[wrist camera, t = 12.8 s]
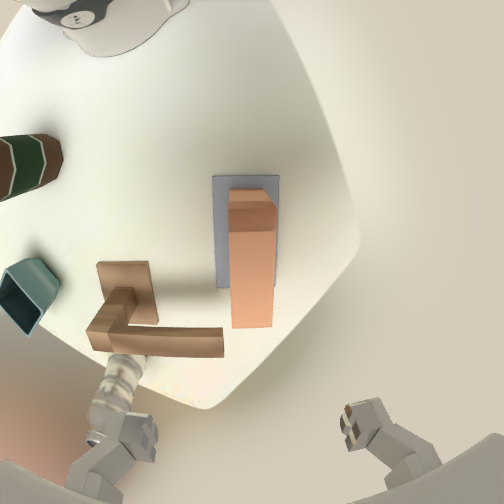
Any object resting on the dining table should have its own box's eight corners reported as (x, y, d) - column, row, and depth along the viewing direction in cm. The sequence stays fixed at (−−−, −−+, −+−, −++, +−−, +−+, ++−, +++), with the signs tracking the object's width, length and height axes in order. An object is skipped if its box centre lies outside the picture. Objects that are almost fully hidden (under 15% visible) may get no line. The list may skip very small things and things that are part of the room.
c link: (229, 188, 32) (228, 208, 22) (262, 188, 32) (277, 208, 22) (231, 278, 37) (232, 328, 26) (261, 277, 37) (271, 327, 27)
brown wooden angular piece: (98, 262, 35) (60, 303, 24) (223, 260, 36) (220, 308, 25) (113, 318, 39) (86, 367, 28) (226, 321, 40) (225, 378, 29)
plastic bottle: (135, 333, 40) (96, 433, 21) (156, 361, 42) (132, 459, 24) (107, 340, 40) (65, 432, 22) (128, 367, 43) (99, 457, 24)
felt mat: (212, 176, 32) (212, 176, 31) (278, 175, 33) (279, 176, 32) (217, 286, 38) (217, 288, 37) (274, 284, 38) (275, 286, 38)
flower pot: (52, 309, 38) (28, 339, 29) (22, 274, 35) (-7, 299, 26) (72, 283, 36) (44, 313, 28) (38, 244, 33) (5, 267, 25)
